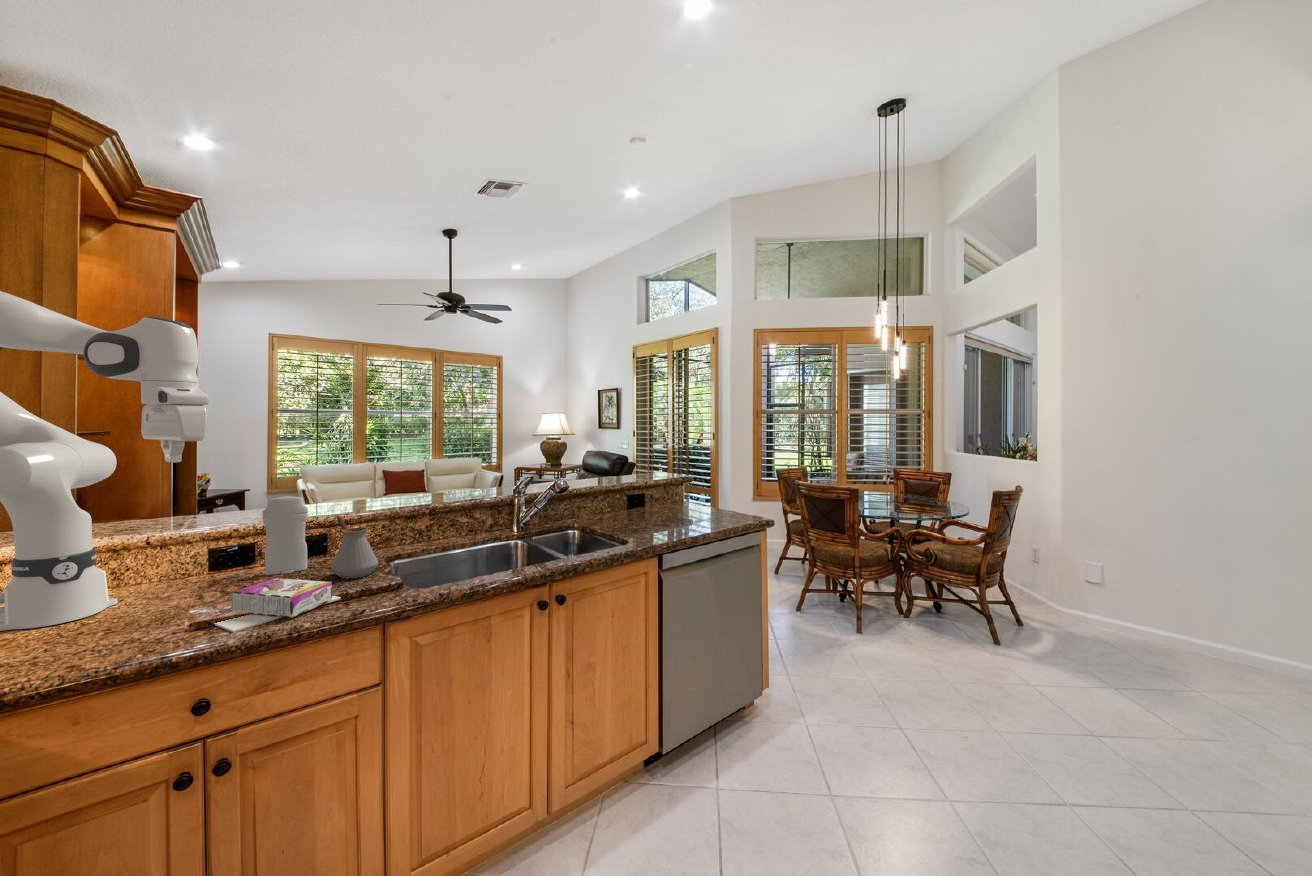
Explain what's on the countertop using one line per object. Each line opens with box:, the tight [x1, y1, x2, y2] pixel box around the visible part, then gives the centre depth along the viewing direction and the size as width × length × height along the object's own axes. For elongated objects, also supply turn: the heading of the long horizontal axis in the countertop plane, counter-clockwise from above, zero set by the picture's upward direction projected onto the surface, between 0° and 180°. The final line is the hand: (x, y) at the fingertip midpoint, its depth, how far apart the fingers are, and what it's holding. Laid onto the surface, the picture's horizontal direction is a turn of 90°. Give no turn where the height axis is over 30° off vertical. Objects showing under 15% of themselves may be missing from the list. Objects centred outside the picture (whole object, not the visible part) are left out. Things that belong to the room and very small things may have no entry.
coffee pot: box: [330, 515, 379, 579], centre depth 147 cm, size 21×12×15 cm, turn 48°
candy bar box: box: [231, 577, 333, 619], centre depth 118 cm, size 11×5×16 cm
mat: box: [214, 595, 342, 633], centre depth 117 cm, size 13×22×1 cm, turn 153°
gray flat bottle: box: [261, 495, 309, 576], centre depth 145 cm, size 11×4×22 cm, turn 130°
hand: (173, 462), depth 106 cm, fingers closed
